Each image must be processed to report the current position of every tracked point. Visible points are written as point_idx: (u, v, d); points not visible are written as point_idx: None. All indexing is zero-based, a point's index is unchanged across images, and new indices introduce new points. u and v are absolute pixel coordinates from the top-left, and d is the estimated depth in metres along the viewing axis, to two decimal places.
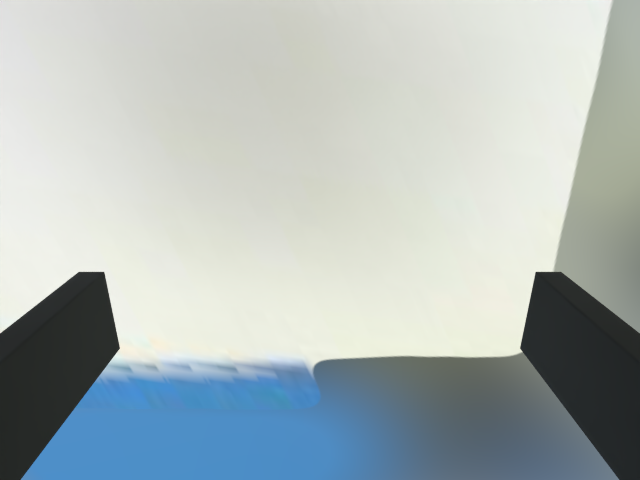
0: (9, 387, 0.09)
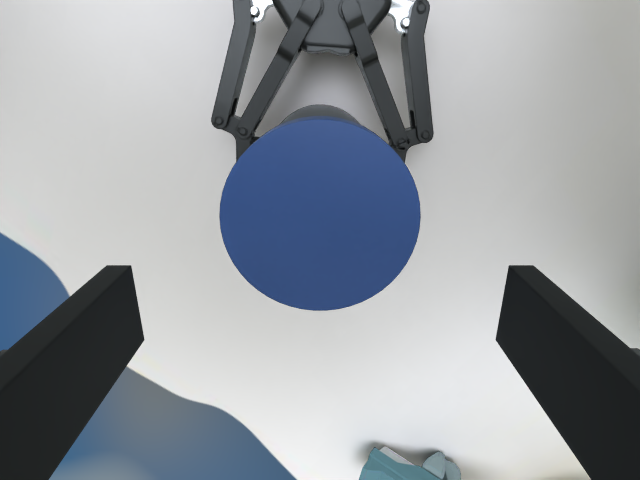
0: (52, 372, 0.09)
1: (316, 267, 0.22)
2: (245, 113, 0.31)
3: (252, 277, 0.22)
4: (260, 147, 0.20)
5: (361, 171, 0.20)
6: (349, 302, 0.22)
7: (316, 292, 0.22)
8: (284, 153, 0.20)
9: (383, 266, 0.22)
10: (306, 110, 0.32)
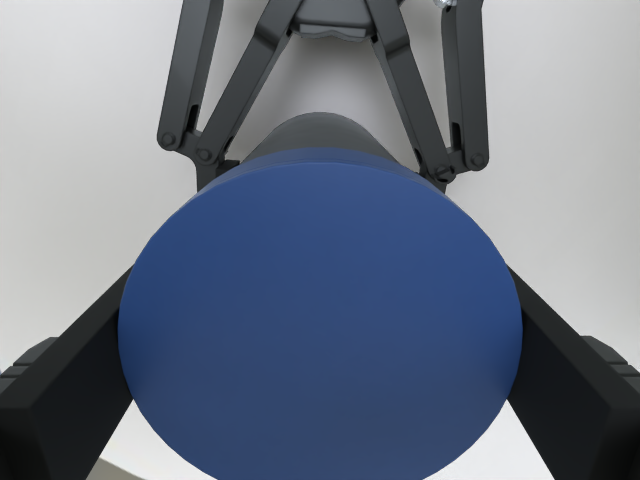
0: (100, 357, 0.09)
1: (313, 436, 0.11)
2: (207, 128, 0.21)
3: (191, 452, 0.11)
4: (192, 220, 0.09)
5: (407, 267, 0.09)
6: None
7: (313, 475, 0.12)
8: (244, 232, 0.09)
9: (442, 434, 0.11)
10: (299, 123, 0.21)
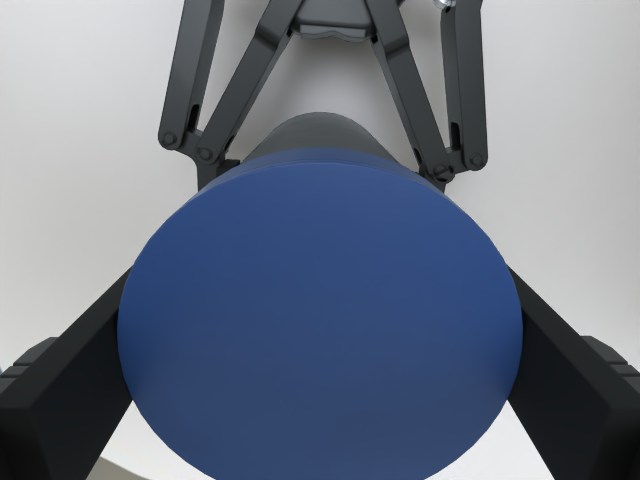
0: (100, 357, 0.09)
1: (404, 397, 0.11)
2: (208, 127, 0.21)
3: None
4: (147, 400, 0.11)
5: (245, 259, 0.09)
6: (509, 370, 0.10)
7: (454, 413, 0.11)
8: (167, 371, 0.10)
9: (468, 284, 0.10)
10: (300, 123, 0.21)
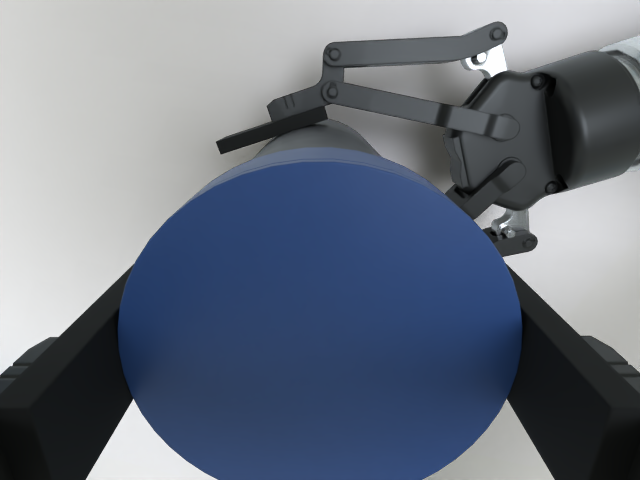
0: (100, 357, 0.09)
1: (403, 396, 0.11)
2: (356, 87, 0.23)
3: None
4: (147, 399, 0.11)
5: (245, 258, 0.09)
6: (508, 369, 0.10)
7: (453, 413, 0.11)
8: (168, 370, 0.11)
9: (468, 284, 0.10)
10: None
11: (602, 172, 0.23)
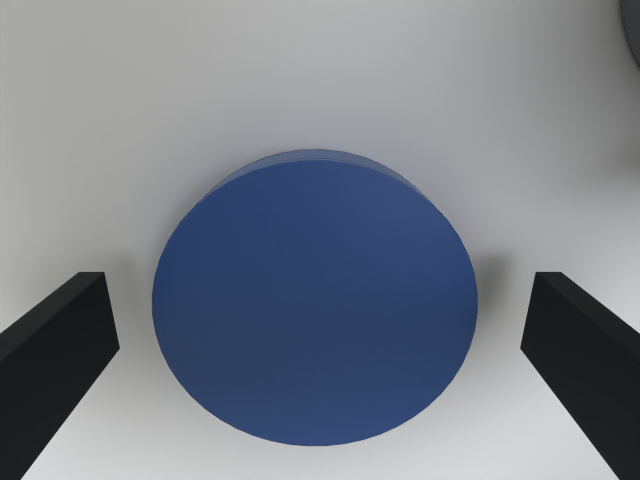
0: (9, 387, 0.09)
1: (383, 352, 0.13)
2: None
3: (357, 433, 0.14)
4: (174, 355, 0.13)
5: (256, 237, 0.12)
6: (467, 328, 0.13)
7: (424, 366, 0.13)
8: (192, 330, 0.13)
9: (432, 257, 0.12)
10: None
11: None
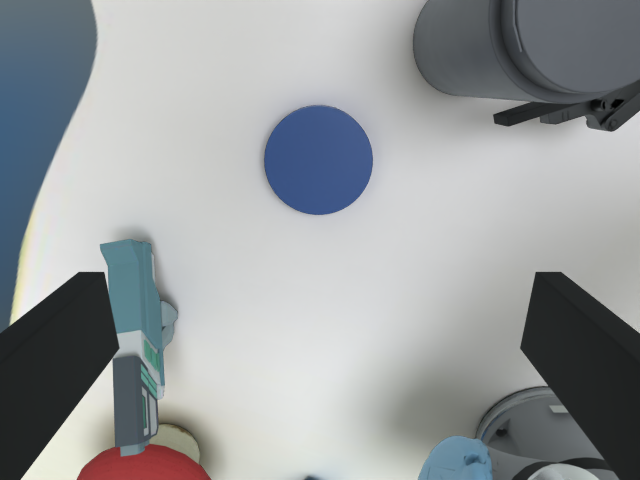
0: (9, 387, 0.09)
1: (341, 174, 0.39)
2: None
3: (333, 208, 0.40)
4: (270, 175, 0.39)
5: (299, 131, 0.38)
6: (369, 165, 0.39)
7: (356, 180, 0.39)
8: (277, 165, 0.39)
9: (356, 139, 0.38)
10: None
11: None
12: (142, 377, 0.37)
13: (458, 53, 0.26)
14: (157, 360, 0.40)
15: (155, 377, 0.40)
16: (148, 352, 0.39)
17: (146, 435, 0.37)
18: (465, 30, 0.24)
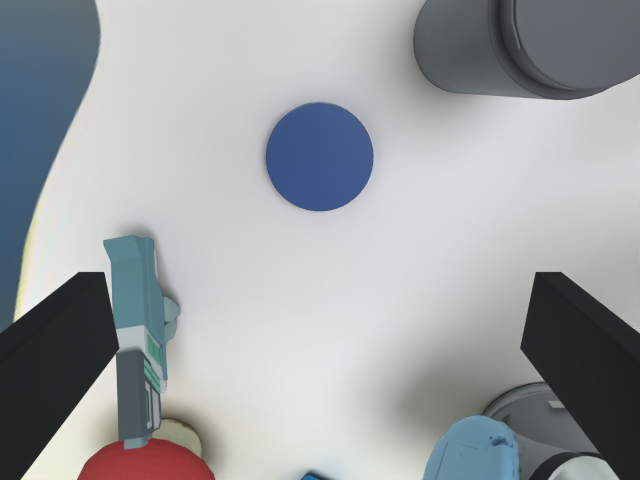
0: (9, 387, 0.09)
1: (342, 171, 0.39)
2: None
3: (334, 205, 0.40)
4: (272, 172, 0.39)
5: (301, 128, 0.38)
6: (370, 162, 0.39)
7: (357, 177, 0.40)
8: (278, 162, 0.39)
9: (357, 135, 0.38)
10: None
11: None
12: (145, 371, 0.38)
13: (457, 50, 0.26)
14: (160, 355, 0.41)
15: (158, 372, 0.40)
16: (151, 347, 0.39)
17: (149, 428, 0.37)
18: (464, 28, 0.24)
